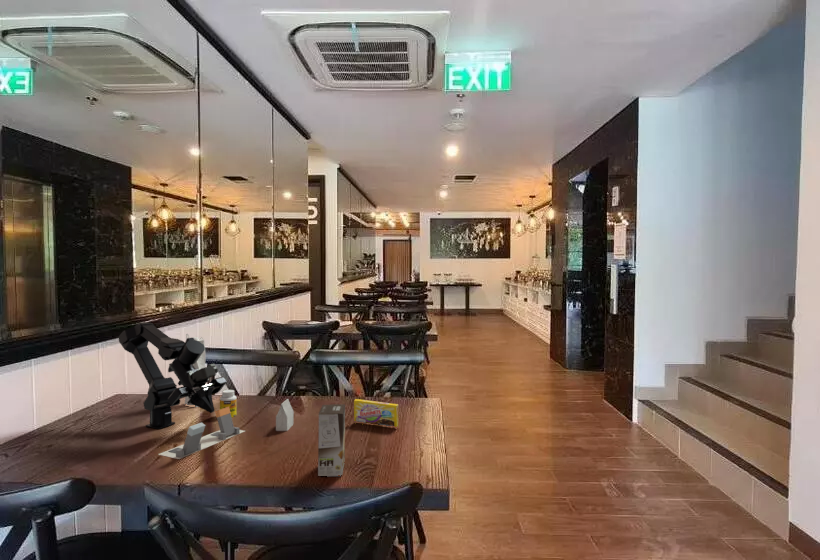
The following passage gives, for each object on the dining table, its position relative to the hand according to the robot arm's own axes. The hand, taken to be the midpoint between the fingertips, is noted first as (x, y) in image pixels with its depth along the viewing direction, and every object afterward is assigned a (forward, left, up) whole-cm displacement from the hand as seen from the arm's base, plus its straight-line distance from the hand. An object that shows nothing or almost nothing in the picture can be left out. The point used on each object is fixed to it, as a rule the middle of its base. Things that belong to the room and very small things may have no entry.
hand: (212, 411), depth 145 cm
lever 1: (+7, -15, -7) cm, 18 cm away
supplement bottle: (-9, +16, -8) cm, 20 cm away
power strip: (+4, -6, -8) cm, 11 cm away
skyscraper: (-36, +26, -9) cm, 46 cm away
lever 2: (+7, 0, -7) cm, 10 cm away
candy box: (+41, +32, -9) cm, 52 cm away
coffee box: (+47, -5, -8) cm, 48 cm away
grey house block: (+17, +14, -8) cm, 23 cm away
